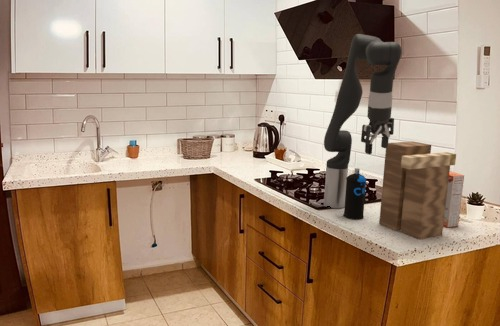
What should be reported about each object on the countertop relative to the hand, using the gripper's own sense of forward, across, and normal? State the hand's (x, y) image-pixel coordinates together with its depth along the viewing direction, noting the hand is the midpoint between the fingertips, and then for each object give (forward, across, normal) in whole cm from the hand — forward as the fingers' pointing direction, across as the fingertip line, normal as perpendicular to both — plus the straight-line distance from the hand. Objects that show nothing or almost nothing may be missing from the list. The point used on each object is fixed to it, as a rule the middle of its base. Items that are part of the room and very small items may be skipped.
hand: (376, 150), depth 161 cm
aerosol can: (+36, -11, -17) cm, 42 cm away
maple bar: (+8, -18, +9) cm, 22 cm away
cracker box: (+38, -35, +7) cm, 52 cm away
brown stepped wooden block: (+35, -17, +5) cm, 39 cm away
